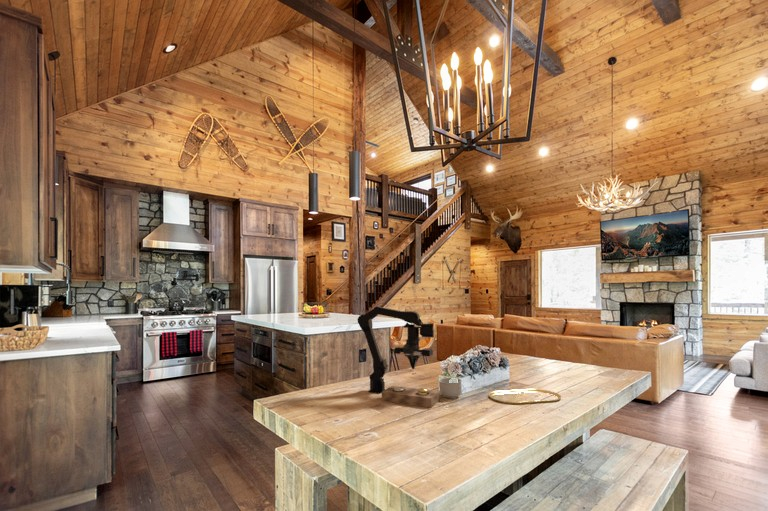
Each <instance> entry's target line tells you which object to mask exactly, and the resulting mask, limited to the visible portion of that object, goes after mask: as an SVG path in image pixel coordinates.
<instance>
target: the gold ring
mask: <svg viewBox="0 0 768 511" xmlns="http://www.w3.org/2000/svg"><path fill="white" fill-rule="evenodd" d="M521 392H524V393H540V394H541V393H542V394H547V393H549V394H548V395H551V394H553V395H552V396H554V395H555V396H554V397H556V396H557V397H558V398H557V397H556V398H555V399H543V400H528V401H507V400H506V401H505V400H501V399H497V398H493V396H495V395H504V394H508V395H509V394H518V393H519V394H521ZM488 397H489V398H490V400H492V401H494V402H497V403H501V404H509V405H524V404H525V405H528V404H539V403H552V402H553V403H554V401H555V402H558V401H560V400H561V398H562V396H561V394H559V393H557V392H555V391H551V390H546V389H540V388H539V389H537V388H526V389H525V388H524V389H510V390H495V391H491V392H489V393H488Z"/></svg>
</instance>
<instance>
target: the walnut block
mask: <svg viewBox="0 0 768 511" xmlns="http://www.w3.org/2000/svg"><path fill="white" fill-rule="evenodd" d="M397 387H400V388H404V391H403V392H396V391H394V388H397ZM440 394H441V393H440V391H439V390H438V391H436V390H429V389H428V392H427V395H419V392H418V388H415V387H414V388H413V387H405V386H398V385H397V386H396V385H391V386H390V387H387V388H386V389H385V390H384V391H382V392H381V401H382V402H388V403H396V404H403V405H408V406H409V405H410V406H417V407H422V406H423V408H428V407H429V408H428V409H431V408H433V407H434V406H436V404H438V403H439V402H440V401H441V400H440V397H441V396H440Z"/></svg>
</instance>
